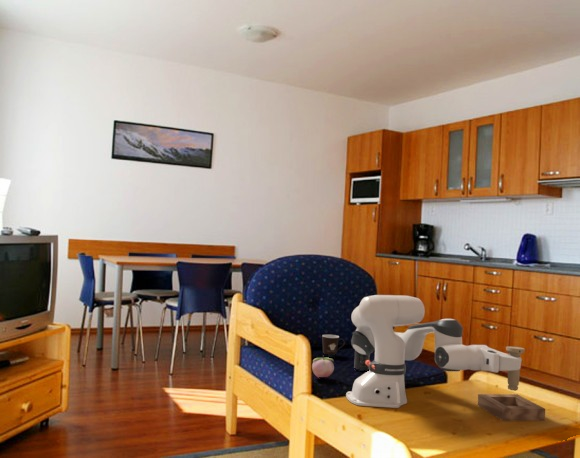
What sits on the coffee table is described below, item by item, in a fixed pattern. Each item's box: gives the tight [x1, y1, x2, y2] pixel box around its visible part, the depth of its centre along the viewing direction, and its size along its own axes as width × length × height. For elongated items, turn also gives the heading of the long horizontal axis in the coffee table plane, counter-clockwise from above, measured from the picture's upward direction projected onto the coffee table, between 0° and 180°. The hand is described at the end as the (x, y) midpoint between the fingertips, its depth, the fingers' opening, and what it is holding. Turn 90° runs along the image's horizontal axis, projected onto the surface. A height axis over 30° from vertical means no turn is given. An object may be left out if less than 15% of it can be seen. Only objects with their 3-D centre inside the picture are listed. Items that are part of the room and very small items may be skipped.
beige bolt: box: [505, 345, 526, 391], centre depth 183 cm, size 5×6×15 cm
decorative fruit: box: [311, 354, 335, 378], centre depth 213 cm, size 9×8×10 cm
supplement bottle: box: [353, 349, 371, 370], centre depth 232 cm, size 7×7×12 cm
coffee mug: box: [321, 334, 346, 355], centre depth 256 cm, size 12×9×10 cm
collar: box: [477, 393, 546, 422], centre depth 183 cm, size 16×16×4 cm
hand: (516, 358), depth 184 cm, fingers closed on beige bolt, 3 cm apart
